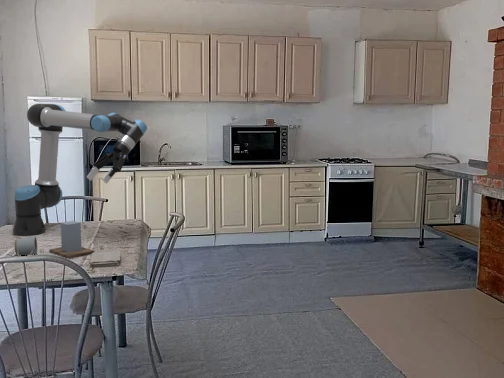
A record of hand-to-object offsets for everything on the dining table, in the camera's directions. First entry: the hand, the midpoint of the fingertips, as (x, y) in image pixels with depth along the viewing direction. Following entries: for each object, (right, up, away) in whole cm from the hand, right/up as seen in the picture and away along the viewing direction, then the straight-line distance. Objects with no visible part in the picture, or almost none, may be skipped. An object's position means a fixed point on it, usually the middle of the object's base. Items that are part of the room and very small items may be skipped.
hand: (96, 180), depth 241 cm
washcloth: (+12, -34, -29) cm, 46 cm away
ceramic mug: (-23, -32, -21) cm, 45 cm away
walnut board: (-6, -31, -16) cm, 36 cm away
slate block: (-6, -30, -16) cm, 35 cm away
